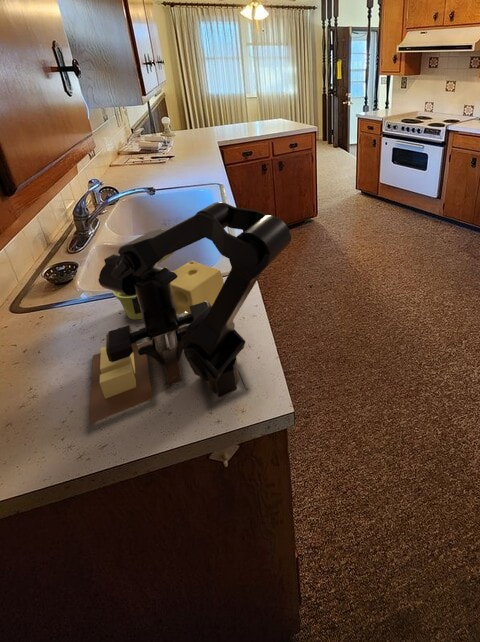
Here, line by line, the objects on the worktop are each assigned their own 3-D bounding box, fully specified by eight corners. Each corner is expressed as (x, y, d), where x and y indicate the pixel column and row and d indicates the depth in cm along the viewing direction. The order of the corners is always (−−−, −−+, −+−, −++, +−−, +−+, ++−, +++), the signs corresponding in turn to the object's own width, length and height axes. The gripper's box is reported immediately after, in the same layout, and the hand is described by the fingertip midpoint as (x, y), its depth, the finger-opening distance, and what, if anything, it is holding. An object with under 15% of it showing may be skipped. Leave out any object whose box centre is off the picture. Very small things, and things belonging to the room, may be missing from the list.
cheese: (165, 313, 85) (157, 279, 81) (198, 289, 94) (192, 257, 90) (195, 327, 81) (189, 292, 77) (228, 301, 89) (223, 268, 85)
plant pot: (171, 304, 88) (165, 275, 85) (147, 330, 80) (139, 299, 77) (139, 299, 90) (131, 271, 87) (112, 324, 82) (102, 294, 78)
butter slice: (136, 387, 65) (131, 371, 63) (105, 399, 63) (99, 383, 61) (135, 379, 66) (130, 363, 65) (105, 390, 64) (99, 374, 63)
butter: (135, 373, 68) (130, 358, 66) (105, 384, 65) (99, 369, 64) (133, 353, 72) (129, 338, 71) (105, 362, 70) (100, 347, 69)
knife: (183, 384, 67) (180, 373, 66) (169, 390, 66) (166, 378, 64) (170, 325, 82) (167, 315, 80) (159, 329, 80) (156, 318, 79)
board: (153, 403, 63) (151, 398, 63) (91, 429, 59) (89, 424, 58) (145, 342, 77) (144, 338, 76) (94, 359, 72) (93, 355, 72)
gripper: (199, 264, 75) (209, 321, 81) (98, 290, 67) (118, 352, 73) (211, 291, 66) (221, 353, 72) (96, 326, 58) (119, 393, 64)
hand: (171, 361), depth 71 cm, fingers closed on knife, 2 cm apart
